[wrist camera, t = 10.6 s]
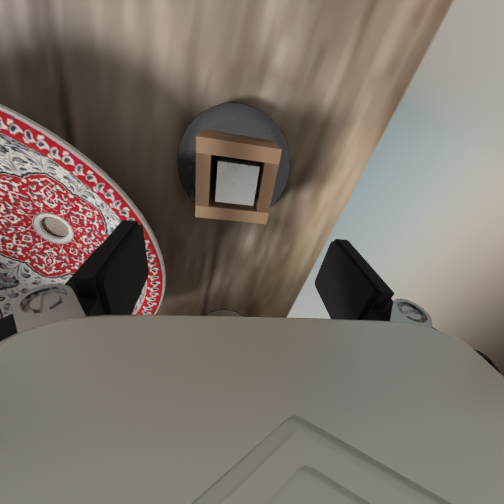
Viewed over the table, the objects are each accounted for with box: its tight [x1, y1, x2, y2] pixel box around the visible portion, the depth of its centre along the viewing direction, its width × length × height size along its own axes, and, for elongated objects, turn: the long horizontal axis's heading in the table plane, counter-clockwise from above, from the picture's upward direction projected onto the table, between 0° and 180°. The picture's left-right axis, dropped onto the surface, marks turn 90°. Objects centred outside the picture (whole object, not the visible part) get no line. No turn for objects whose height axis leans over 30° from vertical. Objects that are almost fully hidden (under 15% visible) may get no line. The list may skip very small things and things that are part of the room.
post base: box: [178, 103, 290, 207], centre depth 22 cm, size 12×12×6 cm
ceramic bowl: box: [0, 104, 166, 319], centre depth 24 cm, size 29×29×8 cm
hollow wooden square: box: [195, 129, 282, 224], centre depth 22 cm, size 7×7×5 cm
